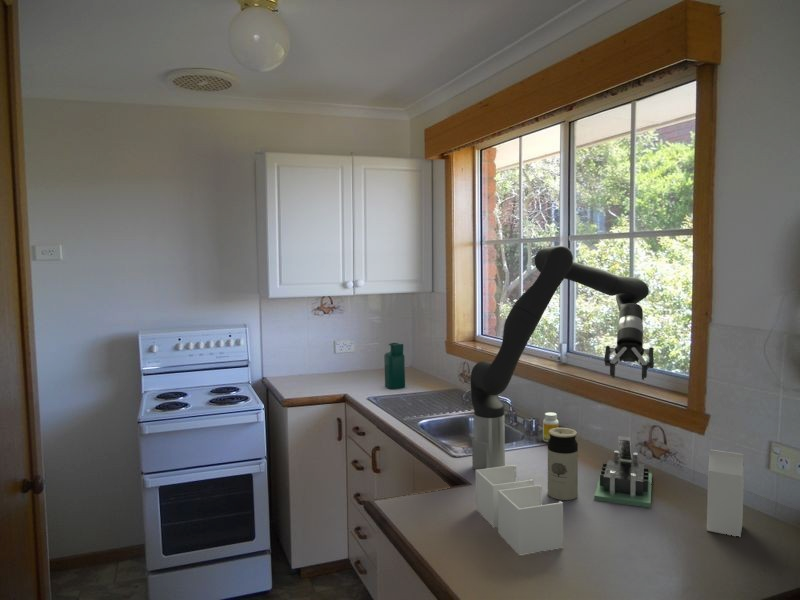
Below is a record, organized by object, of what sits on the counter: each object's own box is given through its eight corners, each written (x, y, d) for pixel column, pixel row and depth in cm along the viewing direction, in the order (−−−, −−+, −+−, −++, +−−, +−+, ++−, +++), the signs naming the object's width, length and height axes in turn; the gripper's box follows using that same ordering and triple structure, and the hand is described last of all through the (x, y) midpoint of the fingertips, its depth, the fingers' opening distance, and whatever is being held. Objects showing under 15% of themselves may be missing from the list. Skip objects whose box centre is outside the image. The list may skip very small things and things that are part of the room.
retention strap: (620, 460, 178) (620, 456, 179) (631, 461, 177) (631, 458, 178) (618, 439, 166) (618, 436, 167) (629, 440, 165) (630, 437, 166)
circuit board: (650, 507, 159) (650, 503, 159) (594, 499, 164) (594, 495, 164) (651, 477, 179) (651, 473, 179) (601, 471, 184) (601, 467, 184)
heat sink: (647, 499, 161) (647, 475, 160) (598, 493, 166) (598, 469, 165) (648, 476, 177) (649, 454, 176) (603, 470, 181) (604, 449, 181)
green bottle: (383, 386, 300) (382, 342, 298) (399, 384, 303) (398, 340, 301) (391, 390, 291) (390, 345, 289) (407, 388, 294) (406, 343, 292)
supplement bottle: (541, 438, 216) (541, 411, 215) (556, 437, 216) (556, 411, 215) (545, 443, 211) (545, 416, 210) (560, 442, 211) (560, 415, 210)
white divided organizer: (476, 510, 160) (475, 469, 159) (514, 504, 163) (513, 464, 162) (519, 556, 136) (518, 509, 135) (562, 549, 139) (563, 502, 138)
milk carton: (740, 538, 142) (742, 459, 140) (706, 531, 145) (708, 453, 144) (742, 525, 148) (744, 449, 146) (709, 519, 151) (711, 445, 150)
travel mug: (557, 486, 173) (557, 425, 172) (583, 494, 168) (583, 431, 166) (542, 495, 168) (542, 431, 166) (568, 503, 162) (568, 438, 161)
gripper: (605, 325, 191) (602, 369, 182) (654, 326, 186) (653, 371, 176) (606, 339, 197) (603, 382, 187) (654, 341, 191) (653, 385, 182)
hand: (628, 377), depth 182 cm, fingers open, 8 cm apart
